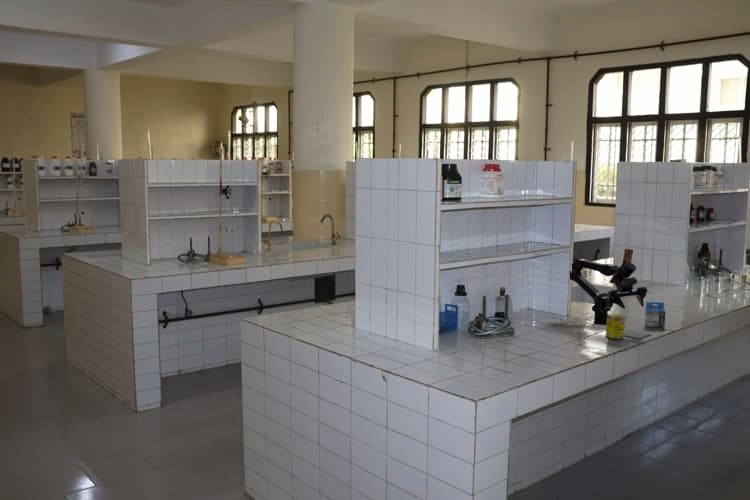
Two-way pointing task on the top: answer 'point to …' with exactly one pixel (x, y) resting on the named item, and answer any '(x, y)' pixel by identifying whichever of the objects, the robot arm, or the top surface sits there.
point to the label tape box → (655, 315)
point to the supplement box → (615, 327)
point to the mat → (635, 334)
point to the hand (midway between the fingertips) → (633, 307)
